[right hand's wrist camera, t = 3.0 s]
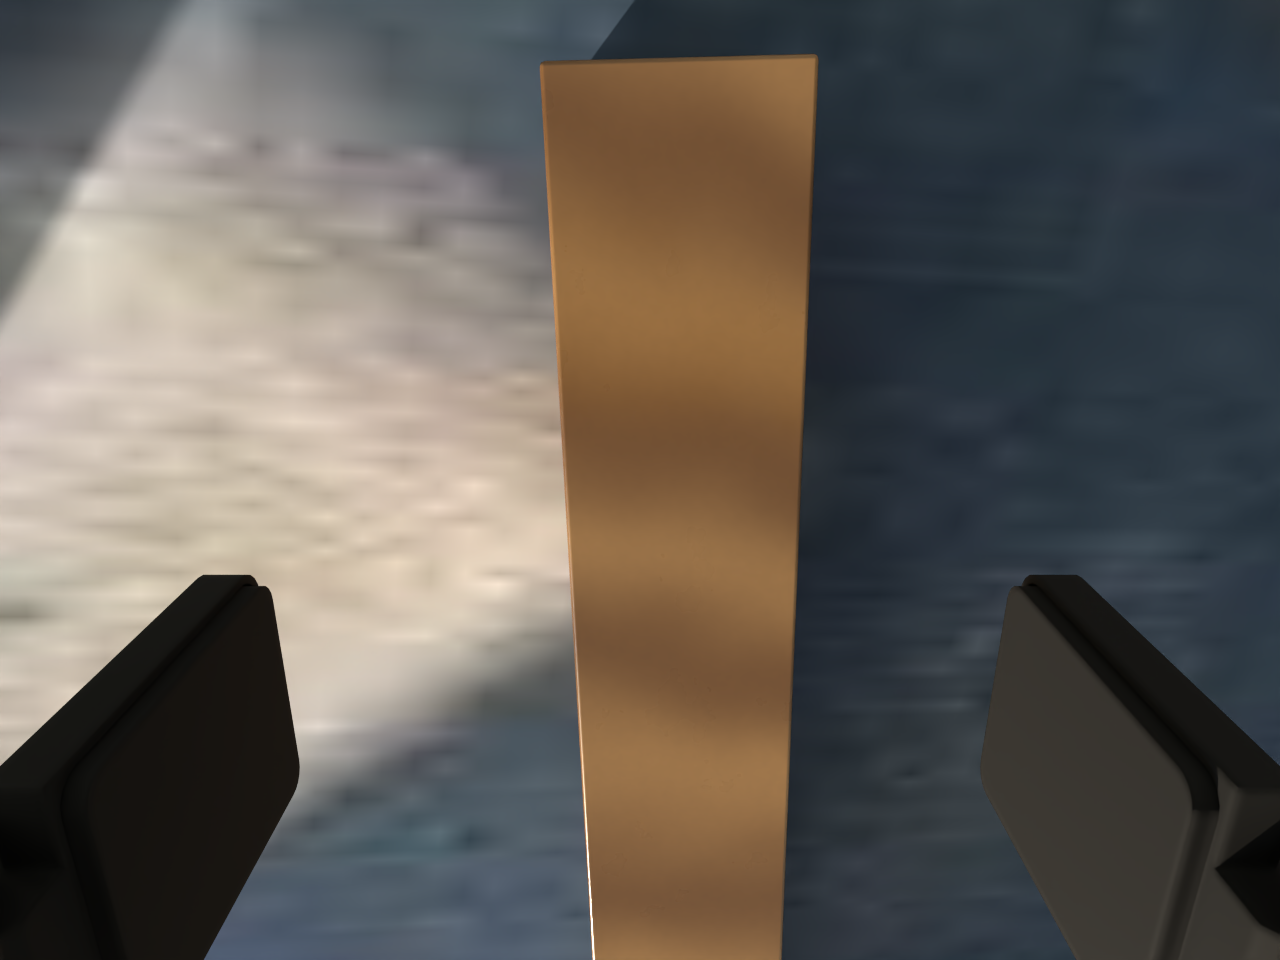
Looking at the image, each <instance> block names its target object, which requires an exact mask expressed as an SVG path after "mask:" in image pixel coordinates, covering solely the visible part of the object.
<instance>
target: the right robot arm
mask: <svg viewBox="0 0 1280 960" xmlns="http://www.w3.org/2000/svg"><path fill="white" fill-rule="evenodd" d="M299 768H300V766H299V757H298V751H297V744H296V738H295V732H294V726H293V720H292V714H291V708H290V702H289V696H288V690H287V684H286V677H285V671H284V665H283V659H282V653H281V647H280V641H279V635H278V629H277V623H276V616H275V610H274V604H273V599H272V595H271V592H270V590H269V588H267V587H266V586H258V584H257V582H256V580H255V578H254V577H252V576H251V575H202V576H201V577H199V578H198V579H197V580H195V581H194V582H193V583H192V584H191V585H190V586H189V587H188V588H187V589H186V590H185V591H184V592H183V593H182V594H181V595H180V596H179V597H178V598H177V599H175V600H174V601H173V602H172V603H171V604H170V605H169V606H168V607H167V608H166V609H165V610H164V611H163V612H162V613H161V614H160V615H159V616H158V617H157V618H155V619H154V620H153V621H152V622H151V623H150V624H149V625H148V626H147V627H146V628H145V629H144V630H143V631H142V632H141V633H140V634H139V635H138V636H137V637H136V638H134V639H133V640H132V641H131V642H130V643H129V644H128V645H127V646H126V647H125V648H124V649H123V650H122V651H121V652H120V653H119V654H118V655H117V656H116V657H114V658H113V659H112V660H111V661H110V662H109V663H108V664H107V665H106V666H105V667H104V668H103V669H102V670H101V671H100V672H99V673H98V674H97V675H96V676H94V677H93V678H92V679H91V680H90V681H89V682H88V683H87V684H86V685H85V686H84V687H83V688H82V689H81V690H80V691H79V692H78V693H77V694H76V695H75V696H73V697H72V698H71V699H70V700H69V701H68V702H67V703H66V704H65V705H64V706H63V707H62V708H61V709H60V710H59V711H58V712H57V713H56V714H55V715H53V716H52V717H51V718H50V719H49V720H48V721H47V722H46V723H45V724H44V725H43V726H42V727H41V728H40V729H39V730H38V731H37V732H36V733H35V734H34V735H32V736H31V737H30V738H29V739H28V740H27V741H26V742H25V743H24V744H23V745H22V746H21V747H20V748H19V749H18V750H17V751H16V752H15V753H14V754H12V755H11V756H10V757H9V758H8V759H7V760H6V761H5V762H4V763H3V764H2V765H1V766H0V960H204V958H205V956H206V955H207V953H208V951H209V949H210V947H211V945H212V944H213V942H214V940H215V938H216V936H217V934H218V932H219V931H220V929H221V927H222V925H223V923H224V921H225V920H226V918H227V916H228V914H229V912H230V910H231V909H232V907H233V905H234V903H235V901H236V899H237V898H238V896H239V894H240V892H241V890H242V888H243V887H244V885H245V883H246V881H247V879H248V877H249V876H250V874H251V872H252V870H253V868H254V866H255V864H256V863H257V861H258V859H259V857H260V855H261V853H262V852H263V850H264V848H265V846H266V844H267V842H268V841H269V839H270V837H271V835H272V833H273V831H274V830H275V828H276V826H277V824H278V822H279V820H280V819H281V817H282V815H283V813H284V811H285V809H286V807H287V806H288V804H289V802H290V800H291V798H292V796H293V795H294V792H295V790H296V787H297V784H298V779H299ZM980 768H981V779H982V784H983V787H984V790H985V792H986V795H987V796H988V798H989V800H990V802H991V804H992V806H993V807H994V809H995V811H996V813H997V815H998V817H999V819H1000V820H1001V822H1002V824H1003V826H1004V828H1005V830H1006V831H1007V833H1008V835H1009V837H1010V839H1011V841H1012V842H1013V844H1014V846H1015V848H1016V850H1017V852H1018V853H1019V855H1020V857H1021V859H1022V861H1023V863H1024V864H1025V866H1026V868H1027V870H1028V872H1029V874H1030V876H1031V877H1032V879H1033V881H1034V883H1035V885H1036V887H1037V888H1038V890H1039V892H1040V894H1041V896H1042V898H1043V899H1044V901H1045V903H1046V905H1047V907H1048V909H1049V910H1050V912H1051V914H1052V916H1053V918H1054V920H1055V921H1056V923H1057V925H1058V927H1059V929H1060V931H1061V932H1062V934H1063V936H1064V938H1065V940H1066V942H1067V944H1068V945H1069V947H1070V949H1071V951H1072V953H1073V955H1074V956H1075V958H1076V960H1280V766H1279V765H1278V764H1277V763H1276V762H1275V761H1274V760H1273V759H1272V758H1271V757H1270V756H1269V755H1268V754H1266V753H1265V752H1264V751H1263V750H1262V749H1261V748H1260V747H1259V746H1258V745H1257V744H1256V743H1255V742H1254V741H1253V740H1252V739H1251V738H1250V737H1249V736H1248V735H1246V734H1245V733H1244V732H1243V731H1242V730H1241V729H1240V728H1239V727H1238V726H1237V725H1236V724H1235V723H1234V722H1233V721H1232V720H1231V719H1230V718H1229V717H1228V716H1227V715H1225V714H1224V713H1223V712H1222V711H1221V710H1220V709H1219V708H1218V707H1217V706H1216V705H1215V704H1214V703H1213V702H1212V701H1211V700H1210V699H1209V698H1208V697H1207V696H1205V695H1204V694H1203V693H1202V692H1201V691H1200V690H1199V689H1198V688H1197V687H1196V686H1195V685H1194V684H1193V683H1192V682H1191V681H1190V680H1189V679H1188V678H1187V677H1185V676H1184V675H1183V674H1182V673H1181V672H1180V671H1179V670H1178V669H1177V668H1176V667H1175V666H1174V665H1173V664H1172V663H1171V662H1170V661H1169V660H1168V659H1167V658H1166V657H1164V656H1163V655H1162V654H1161V653H1160V652H1159V651H1158V650H1157V649H1156V648H1155V647H1154V646H1153V645H1152V644H1151V643H1150V642H1149V641H1148V640H1147V639H1146V638H1144V637H1143V636H1142V635H1141V634H1140V633H1139V632H1138V631H1137V630H1136V629H1135V628H1134V627H1133V626H1132V625H1131V624H1130V623H1129V622H1128V621H1127V620H1126V619H1125V618H1123V617H1122V616H1121V615H1120V614H1119V613H1118V612H1117V611H1116V610H1115V609H1114V608H1113V607H1112V606H1111V605H1110V604H1109V603H1108V602H1107V601H1106V600H1105V599H1103V598H1102V597H1101V596H1100V595H1099V594H1098V593H1097V592H1096V591H1095V590H1094V589H1093V588H1092V587H1091V586H1090V585H1089V584H1088V583H1087V582H1086V581H1085V580H1083V579H1082V578H1081V577H1079V576H1078V575H1029V576H1028V577H1026V578H1025V580H1024V582H1023V584H1022V586H1014V587H1013V588H1011V590H1010V592H1009V595H1008V599H1007V604H1006V610H1005V616H1004V623H1003V629H1002V635H1001V641H1000V647H999V653H998V659H997V665H996V671H995V677H994V684H993V690H992V696H991V702H990V708H989V714H988V720H987V726H986V732H985V738H984V744H983V751H982V757H981V766H980Z"/></svg>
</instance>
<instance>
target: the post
mask: <svg viewBox="0 0 1280 960" xmlns="http://www.w3.org/2000/svg"><path fill="white" fill-rule="evenodd" d="M818 62H819V59H818V56H817V55H815V54H786V55H749V56H712V57H675V58H638V59H600V60H563V61H544V62H542V63H541V65H540V79H541V96H542V113H543V130H544V147H545V164H546V181H547V197H548V214H549V231H550V248H551V265H552V282H553V299H554V316H555V333H556V350H557V367H558V384H559V401H560V418H561V435H562V452H563V469H564V486H565V503H566V520H567V536H568V553H569V570H570V587H571V604H572V621H573V638H574V655H575V672H576V689H577V706H578V723H579V740H580V757H581V774H582V791H583V808H584V825H585V842H586V859H587V875H588V892H589V909H590V926H591V943H592V960H782V938H783V913H784V889H785V865H786V840H787V816H788V792H789V767H790V743H791V719H792V694H793V670H794V646H795V621H796V597H797V573H798V548H799V524H800V500H801V475H802V451H803V427H804V402H805V378H806V354H807V329H808V305H809V281H810V256H811V232H812V208H813V183H814V159H815V135H816V110H817V86H818Z"/></svg>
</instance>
